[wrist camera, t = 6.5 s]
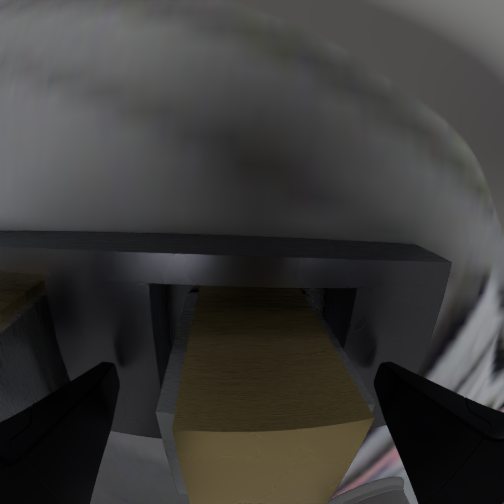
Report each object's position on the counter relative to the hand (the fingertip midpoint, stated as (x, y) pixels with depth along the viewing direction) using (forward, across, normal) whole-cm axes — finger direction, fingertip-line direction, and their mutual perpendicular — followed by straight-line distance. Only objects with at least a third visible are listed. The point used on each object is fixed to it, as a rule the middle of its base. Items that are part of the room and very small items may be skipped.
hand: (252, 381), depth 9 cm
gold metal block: (+3, 0, 0) cm, 3 cm away
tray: (+3, +4, 0) cm, 5 cm away
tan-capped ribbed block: (+3, +10, 0) cm, 10 cm away
